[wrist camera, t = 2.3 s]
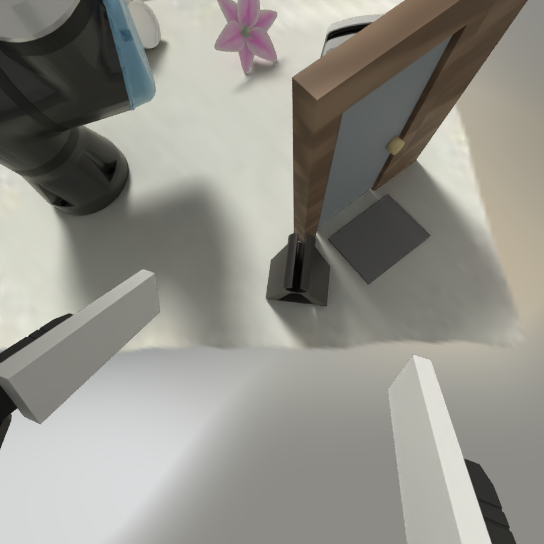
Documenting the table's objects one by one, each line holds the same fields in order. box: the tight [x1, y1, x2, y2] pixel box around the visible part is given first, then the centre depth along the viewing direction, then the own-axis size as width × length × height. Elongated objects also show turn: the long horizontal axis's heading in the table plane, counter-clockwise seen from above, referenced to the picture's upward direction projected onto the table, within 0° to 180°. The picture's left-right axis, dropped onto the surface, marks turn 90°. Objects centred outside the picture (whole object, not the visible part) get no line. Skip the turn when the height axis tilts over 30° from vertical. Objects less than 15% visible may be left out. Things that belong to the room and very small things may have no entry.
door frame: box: [292, 0, 527, 243], centre depth 28 cm, size 2×24×24 cm, turn 127°
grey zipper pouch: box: [321, 14, 384, 57], centre depth 42 cm, size 17×5×10 cm, turn 83°
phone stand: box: [266, 233, 330, 306], centre depth 31 cm, size 9×6×12 cm, turn 82°
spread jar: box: [125, 0, 160, 49], centre depth 48 cm, size 12×11×12 cm
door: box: [318, 35, 452, 227], centre depth 28 cm, size 11×3×21 cm, turn 127°
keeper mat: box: [328, 194, 431, 284], centre depth 37 cm, size 9×12×1 cm
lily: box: [215, 0, 277, 74], centre depth 46 cm, size 12×12×10 cm
